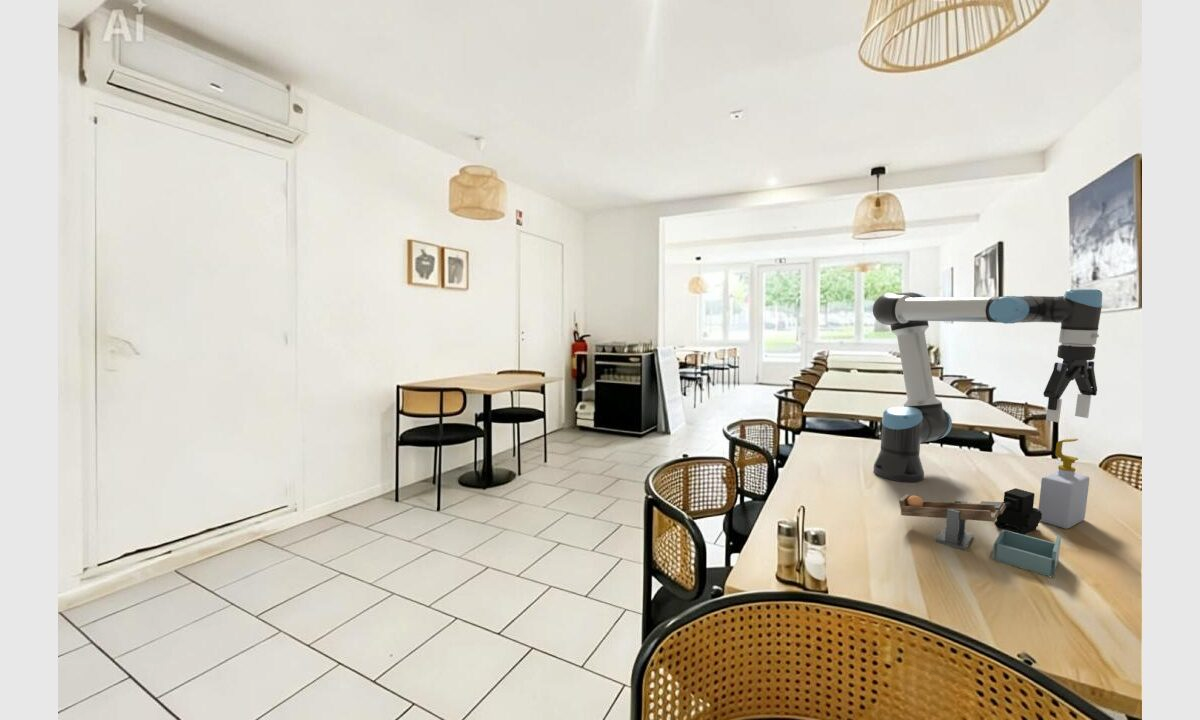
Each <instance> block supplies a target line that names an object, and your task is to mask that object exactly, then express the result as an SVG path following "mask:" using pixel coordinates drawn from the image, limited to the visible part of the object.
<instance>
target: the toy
mask: <svg viewBox="0 0 1200 720" xmlns="http://www.w3.org/2000/svg"><path fill="white" fill-rule="evenodd" d="M1002 502H1003V503H1005V506H1006V508H1005V510H1004V511H1003V513H1002V514H999V515H998V517H997V518H996V520H995V522H994V526H995V527H996V528H999V529H1000V528H1003V527H1005V526H1010V527H1013V528H1016V533H1019V534H1023V535H1027V534H1029V533H1032V532H1034V531H1037V527H1039V524H1040V522H1041V521H1040V520H1041V519H1042V513H1041V511H1040V510H1039V508H1036V507H1034V504H1035V493H1034V492H1030V491H1027V490H1025V489H1020V488H1012V489H1010V490H1006V491H1004V494H1003V501H1002Z"/></svg>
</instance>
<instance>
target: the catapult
mask: <svg viewBox="0 0 1200 720" xmlns="http://www.w3.org/2000/svg"><path fill="white" fill-rule="evenodd" d="M910 496H911V495H910V494H907V493H906V494H905V495H903V496H902V497H901V498H900V499H899V500H898V502H899V508H900V510H901V511H900V515H901V516H906V517H920V518H922V517H923V518H933V519H934V518H935V519H947V510H948V508H950V509H954V510H958V511H960V519H962V520H966V521H980V522H993V523H995V521H996V520H997V517H998V515H999V514H1002V513H1003V511H1004V510H1005V508H1006V506H1005V503H1003V502H1004V501H987V500H986V501H983V500H982V501H980V503H977V502H975V503H973V502H967V503H955V501H953V502H952V501H951V502H949V501H929V500H928V501H927V500H922V501H923V506H922V507H916V506H909V505H908V503H907V500H908V498H909V497H910Z"/></svg>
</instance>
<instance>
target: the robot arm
mask: <svg viewBox="0 0 1200 720" xmlns="http://www.w3.org/2000/svg"><path fill="white" fill-rule="evenodd" d="M1064 293H1065V294H1064V295H1063V296H1062V295H1061V296H1042V295H1040V296H1039V295H1037V296H1035V295H1024V296H1019V295H1018V296H1017V295H1015V296H1014V295H1008V296H1007V295H1005V296H964V297H962V296H960V297H959V296H958V297H955V296H954V297H952V296H951V297H926V296H925V295H923V294H920V293H916V292H911V291H910V292H888V293H885V294H882V295H880V296H879V297H878V298H877V299H876V300H874V302H873V305H872V315H873V317H874V318H875V320H876V321H877V322H878V323H881V324H882V325H886V326H890V330H891V333H892V334H894V335H896V337H897V338H896V339H897V343H898V351H899V355H900V356H899V357H900V363H901V367H902V369H901V370H902V373H903V374H902V375H903V379H904V385H905V393H906V399H907V400H906V402H905V403H904V404H903V406H893V407H892V406H891V407H888V408H886V409H885V410H883V413H882V419H881V433H880V434H881V435H880V436H881V439H880V450H879V453H878V454H877V455H878V456H877V458H876V460H875V462H874V464H873V473H874V474H876V475H878V476H879V477H881V478H885V479H887V480H888V479H889V480H890V481H891V480H893V481H896V482H904V483H915V482H917V483H919V482H922V481H924V477H925V470H924V467H923V464H922V461H921V457H920V452H921V451H920V449H921V444H923V443H926V442H935V441H938V440H940V439H942V438H944V437H946V436H947V435H948V434H949V433H950V431H951V430H952V425H953V420H952V417H951V414H950V413H949V412H947V411H946V409H944V408H943V403H942V401H941V400H939V399H938V398H937V397H936V391H935V387H934V381H933V380H934V379H933V375H932V369H931V362H930V357H929V350H928V345H927V338H926V333H925V332H926V331H927V329H928V328H929V322H956V323H957V322H963V323H965V322H966V323H968V322H969V323H971V322H972V323H1002V324H1006V325H1007V324H1015V323H1016V324H1017V323H1055V324H1059V323H1060V332H1059V338H1058V343H1060V344H1059V345H1058V347H1057V355H1056V356H1057V357H1058V359H1059V358H1060V359H1062V362H1055V363H1054V365H1053V369H1052V373H1051V374H1050V377H1049V380H1048V382H1047V384H1046V386H1045V389H1044V391H1043V396H1044V398H1047V409H1046V416H1045V420H1046V421H1050V422H1054V423H1060V419H1061V418H1060V417H1061V412H1062V403H1063V402H1062V401H1063V399H1062V398H1061V397H1062V395H1063V394H1064V392H1065V390H1066V389H1067V387H1068V386H1069V384H1070V383H1071V381H1075V383H1076V385H1077V388H1078V391H1079V393H1078V394H1077V397H1076V398H1077V399H1076V405H1075V410H1074V411H1075V413H1074V416H1075V417H1079V418H1085V419H1089V415H1090V408H1091V400H1092V396H1096V395H1097V392H1098V386H1097V382H1096V381H1097V380H1096V375H1095V373H1096V372H1095V361H1092V360H1094V359H1095V357H1096V350H1097V349H1096V347H1095V346H1094V345H1096V344H1097V340H1098V338H1099V337H1100V334H1098V332H1099V325H1100V319H1101V313H1102V308H1103V292H1102V291H1101V290H1100V289H1096V288H1095V289H1088V288H1085V289H1083V288H1081V289H1067V290H1065V292H1064Z"/></svg>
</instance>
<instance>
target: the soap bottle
mask: <svg viewBox="0 0 1200 720" xmlns="http://www.w3.org/2000/svg"><path fill="white" fill-rule="evenodd" d="M1076 441H1077V442H1078V441H1079V439H1078V438H1065V439H1061V440H1059V441H1057V442H1056V445H1055V452H1054V453H1055V454H1054V455H1055V457H1057V458H1058V459H1060V461H1061V462H1062V464H1061V465H1058V467H1057V468H1058V470H1056V471H1054V472H1051V473H1049V474H1046V475H1043V476H1042V478H1041V484H1040V493H1039V502H1038V510H1040V511H1041V513H1042V519H1041V520H1040V522H1042V523H1045V524H1048V525H1049V524H1050V525H1052V526H1055V527H1059V528H1062V529H1069V528H1072V527H1073V526H1075V525H1077V524H1079V523H1081V522H1083V521H1084V520H1085V518H1086V511H1087V502H1088V494H1089V487H1090V486H1089V485H1090V476H1088V475H1085V474H1080V473H1075V472H1076V467H1073V466H1072V465H1073V464H1075V463H1076V461H1078V460H1079V458H1078V457H1076V456H1071V455H1066V454H1063V453H1062V452H1063V451H1062V450H1063V443H1066V442H1067V443H1069V442H1076Z"/></svg>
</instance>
